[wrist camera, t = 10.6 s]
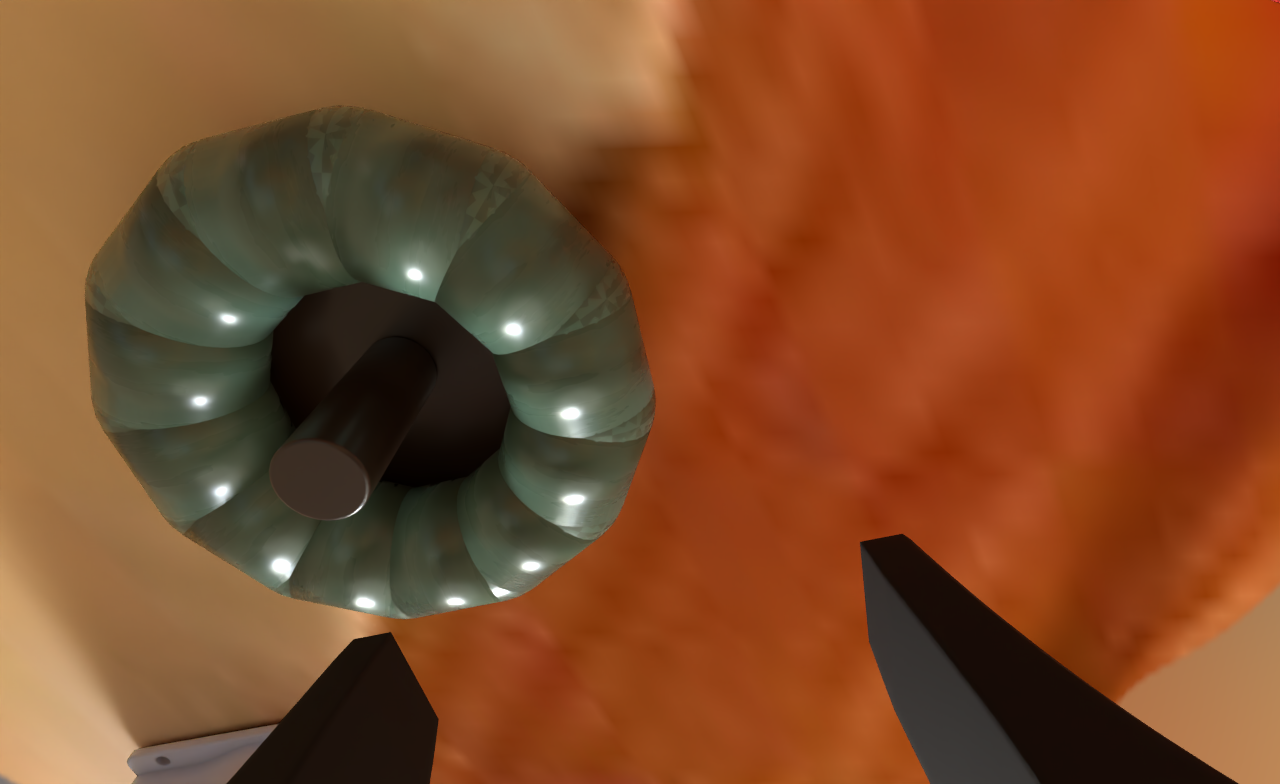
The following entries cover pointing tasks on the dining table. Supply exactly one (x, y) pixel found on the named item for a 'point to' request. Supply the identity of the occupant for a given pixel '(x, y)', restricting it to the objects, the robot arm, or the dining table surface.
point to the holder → (378, 398)
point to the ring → (392, 259)
